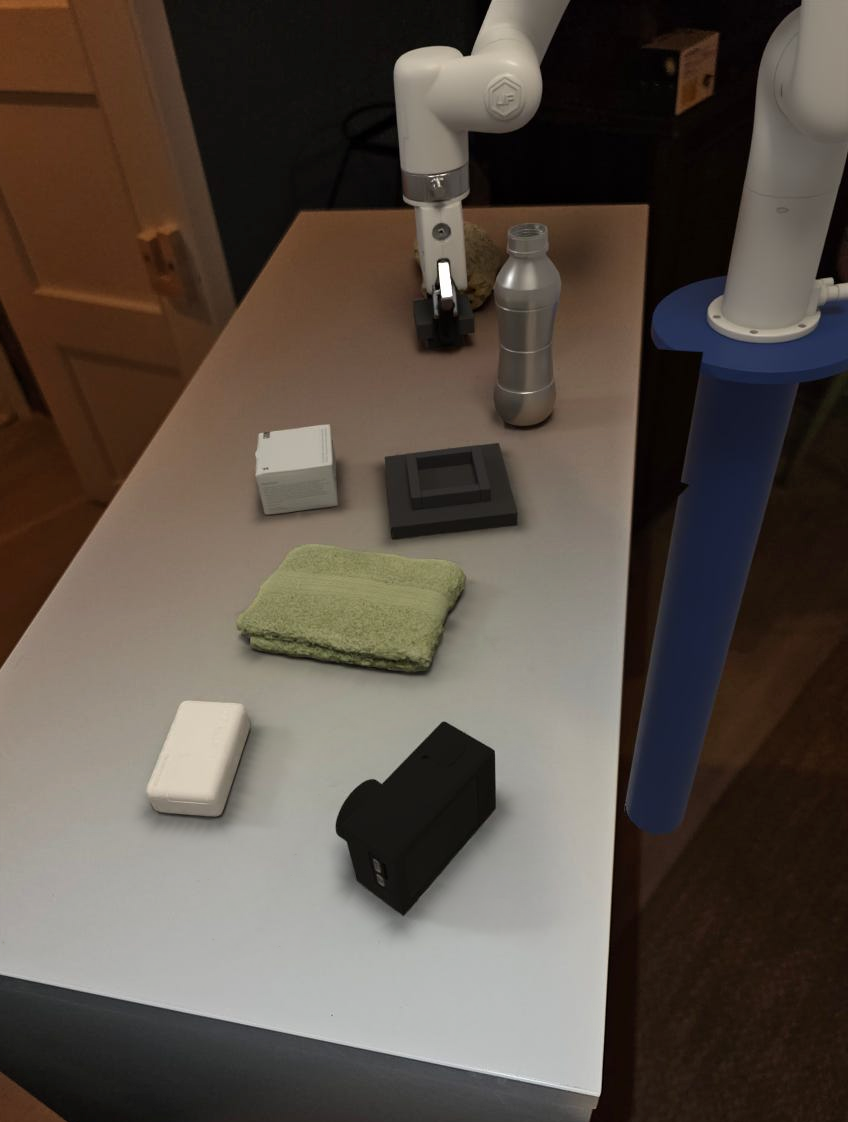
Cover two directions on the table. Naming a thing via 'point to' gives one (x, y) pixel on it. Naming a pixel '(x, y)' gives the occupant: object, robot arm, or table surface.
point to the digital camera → (418, 815)
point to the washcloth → (354, 607)
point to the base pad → (449, 491)
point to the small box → (296, 469)
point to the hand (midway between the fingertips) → (443, 330)
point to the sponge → (474, 264)
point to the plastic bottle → (526, 327)
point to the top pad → (426, 311)
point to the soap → (199, 758)
